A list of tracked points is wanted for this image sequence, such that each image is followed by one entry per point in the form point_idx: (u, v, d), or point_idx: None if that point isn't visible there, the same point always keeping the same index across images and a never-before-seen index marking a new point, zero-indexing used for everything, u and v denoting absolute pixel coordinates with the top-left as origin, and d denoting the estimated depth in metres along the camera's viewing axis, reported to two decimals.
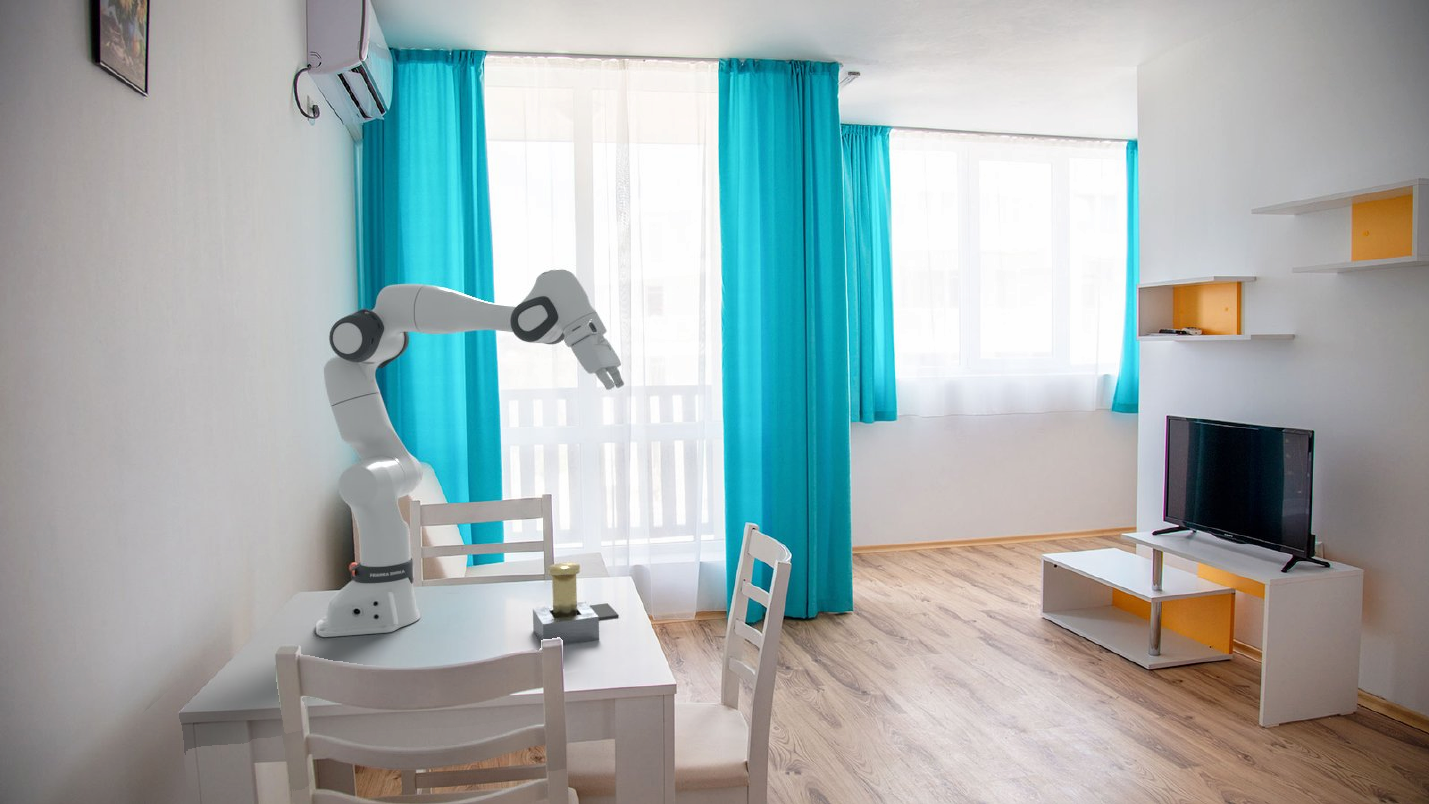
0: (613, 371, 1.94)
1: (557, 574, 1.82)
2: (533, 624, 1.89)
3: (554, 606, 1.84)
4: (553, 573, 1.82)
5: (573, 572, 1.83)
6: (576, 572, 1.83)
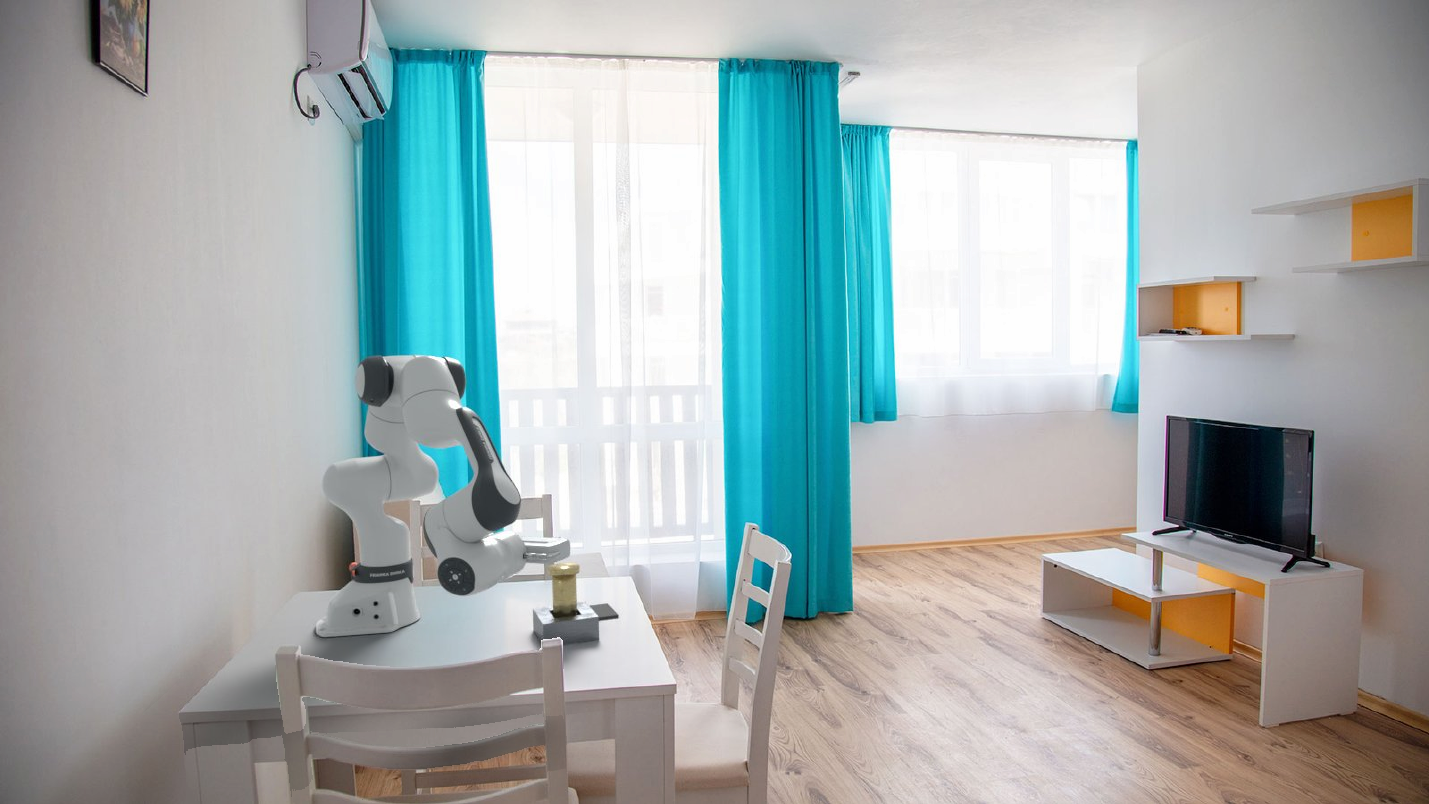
0: None
1: (557, 574, 1.82)
2: (533, 624, 1.89)
3: (554, 606, 1.84)
4: (553, 573, 1.82)
5: (573, 572, 1.83)
6: (576, 572, 1.83)
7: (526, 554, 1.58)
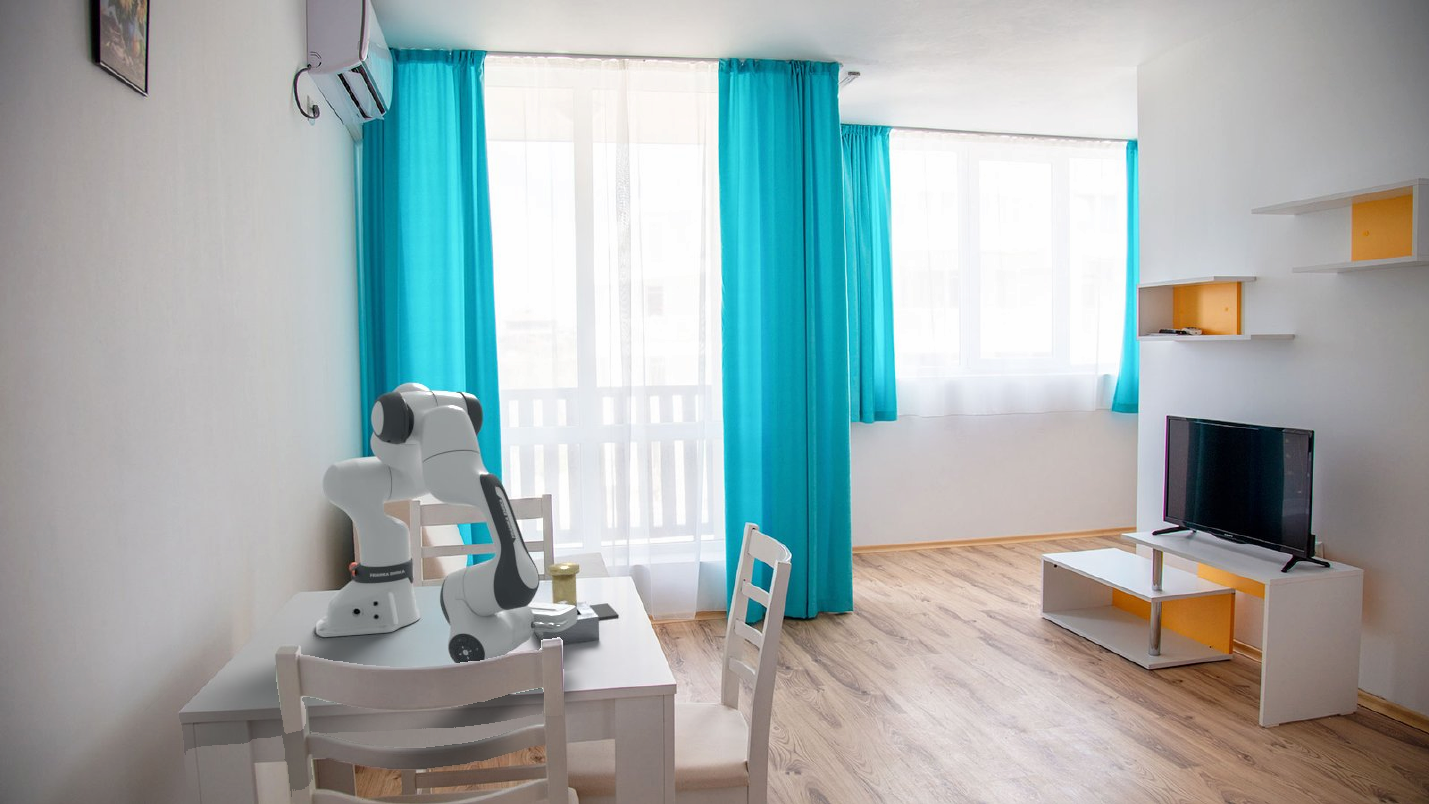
0: None
1: (557, 574, 1.82)
2: None
3: None
4: (553, 573, 1.82)
5: (573, 572, 1.82)
6: (576, 572, 1.83)
7: (534, 623, 1.62)
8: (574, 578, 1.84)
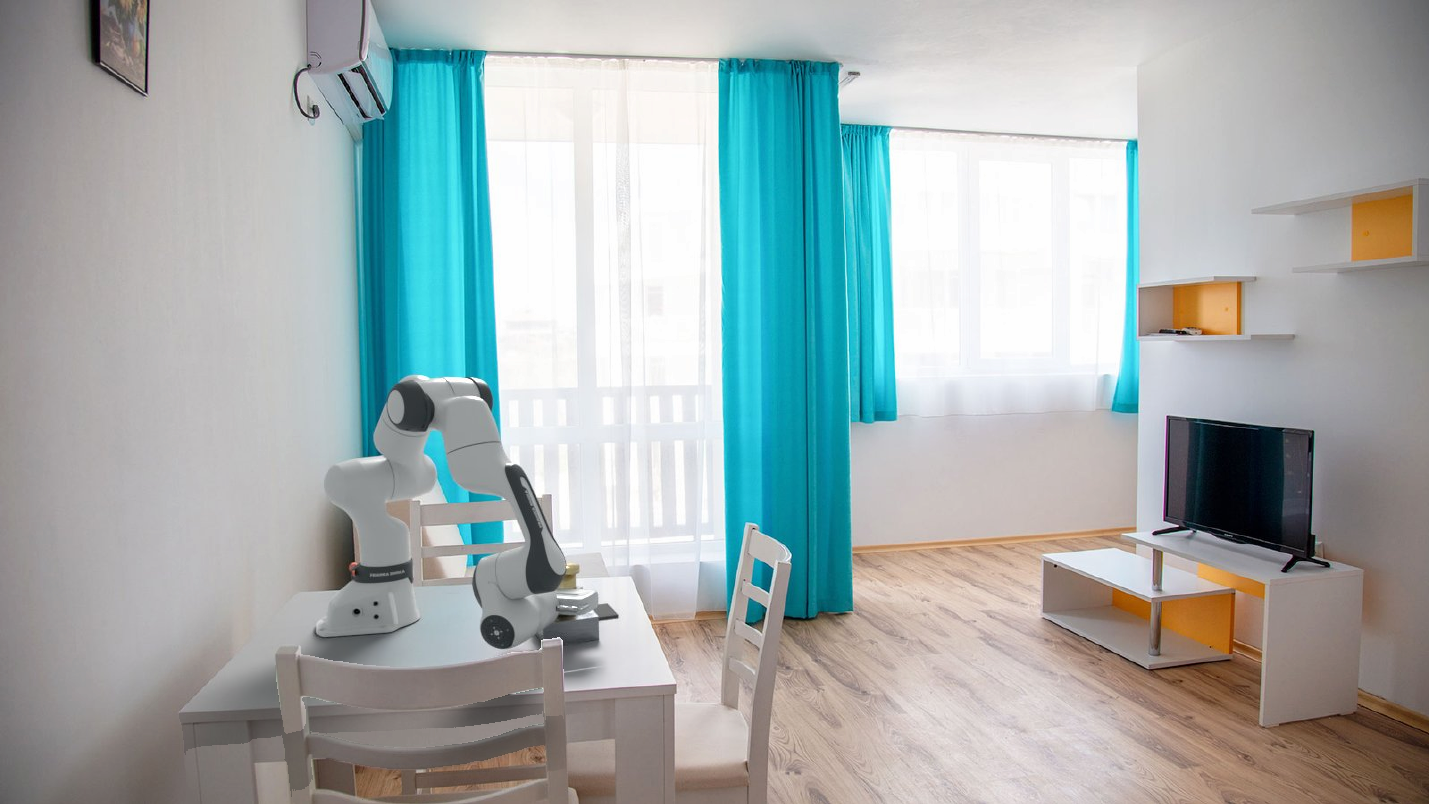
0: None
1: None
2: None
3: None
4: None
5: (573, 572, 1.82)
6: (576, 572, 1.83)
7: (559, 607, 1.72)
8: (574, 578, 1.84)
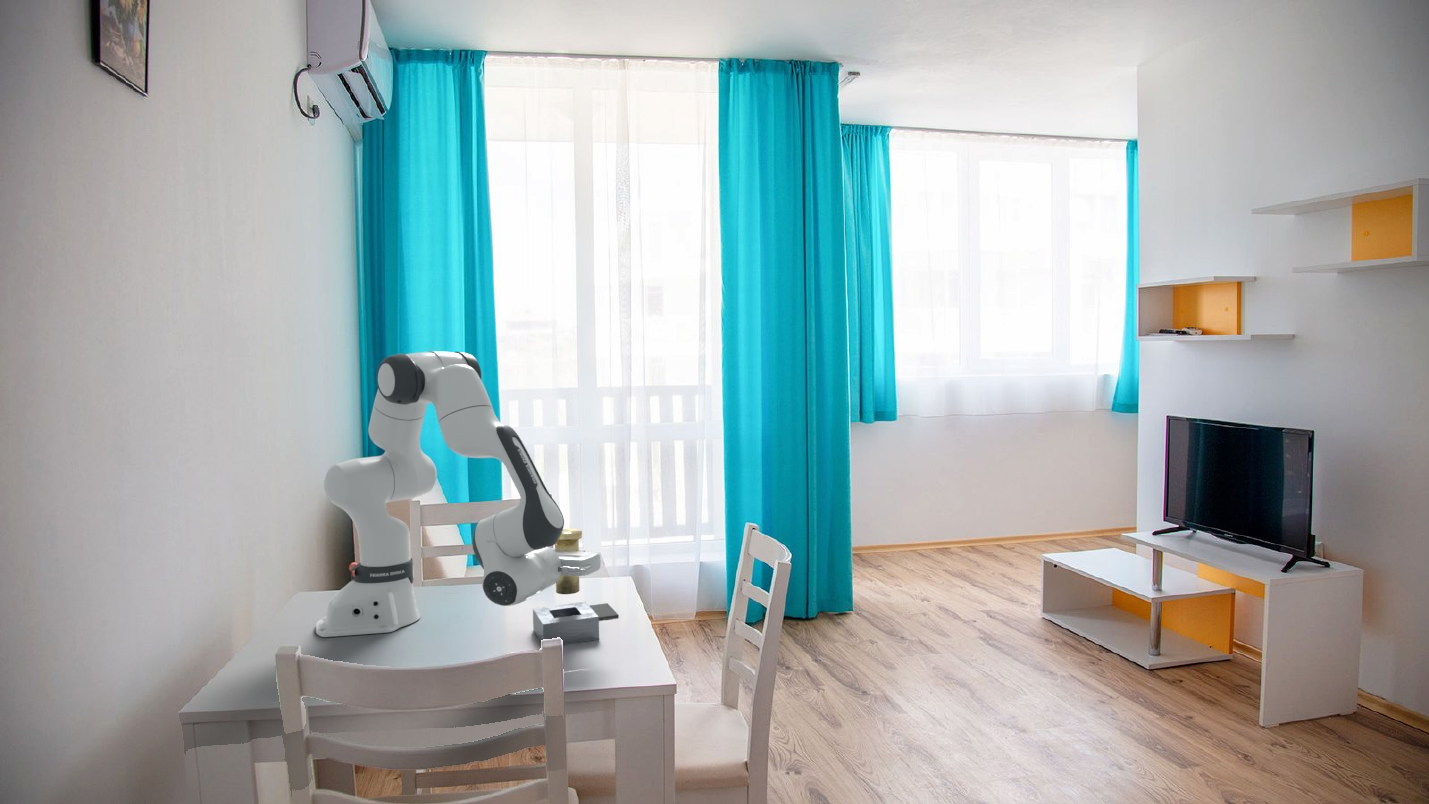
0: None
1: (559, 539, 1.83)
2: (533, 624, 1.89)
3: None
4: None
5: (575, 537, 1.84)
6: (578, 537, 1.85)
7: (561, 567, 1.73)
8: (577, 543, 1.86)
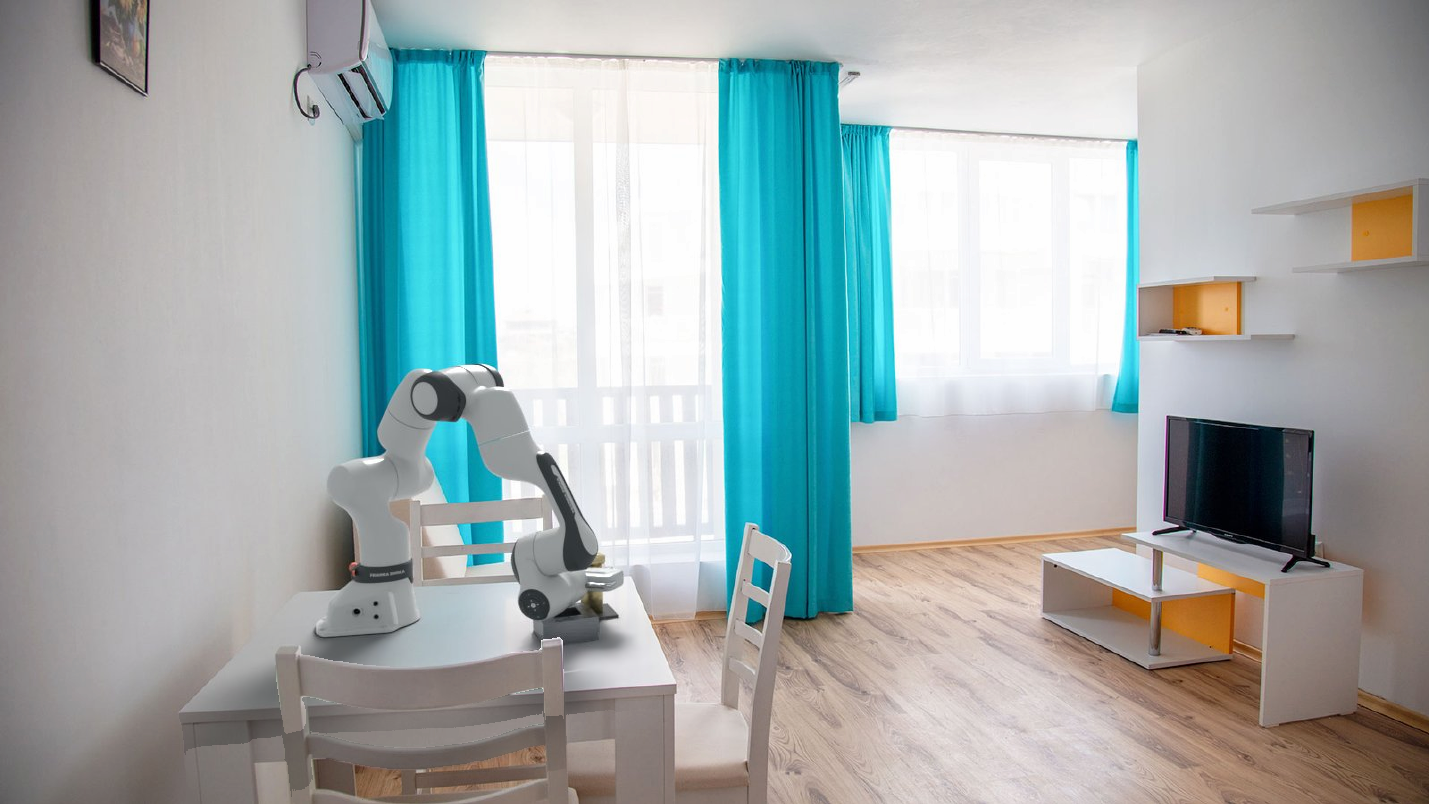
0: None
1: None
2: (533, 624, 1.89)
3: None
4: None
5: (599, 562, 1.97)
6: (602, 562, 1.97)
7: (588, 583, 1.86)
8: (600, 567, 1.98)
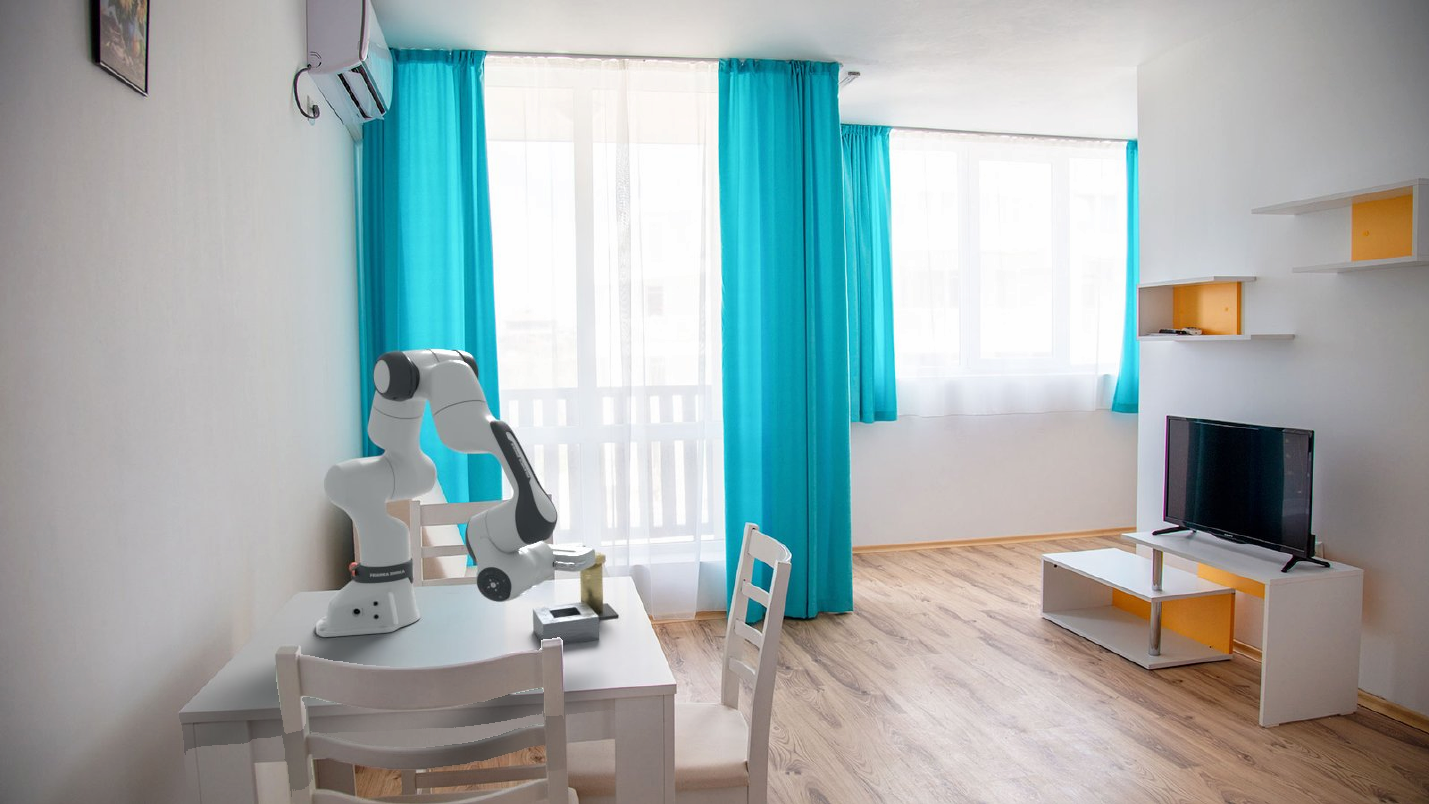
0: None
1: None
2: (533, 624, 1.89)
3: (582, 593, 1.98)
4: None
5: (600, 561, 1.97)
6: (602, 561, 1.98)
7: (555, 563, 1.71)
8: (601, 567, 1.99)
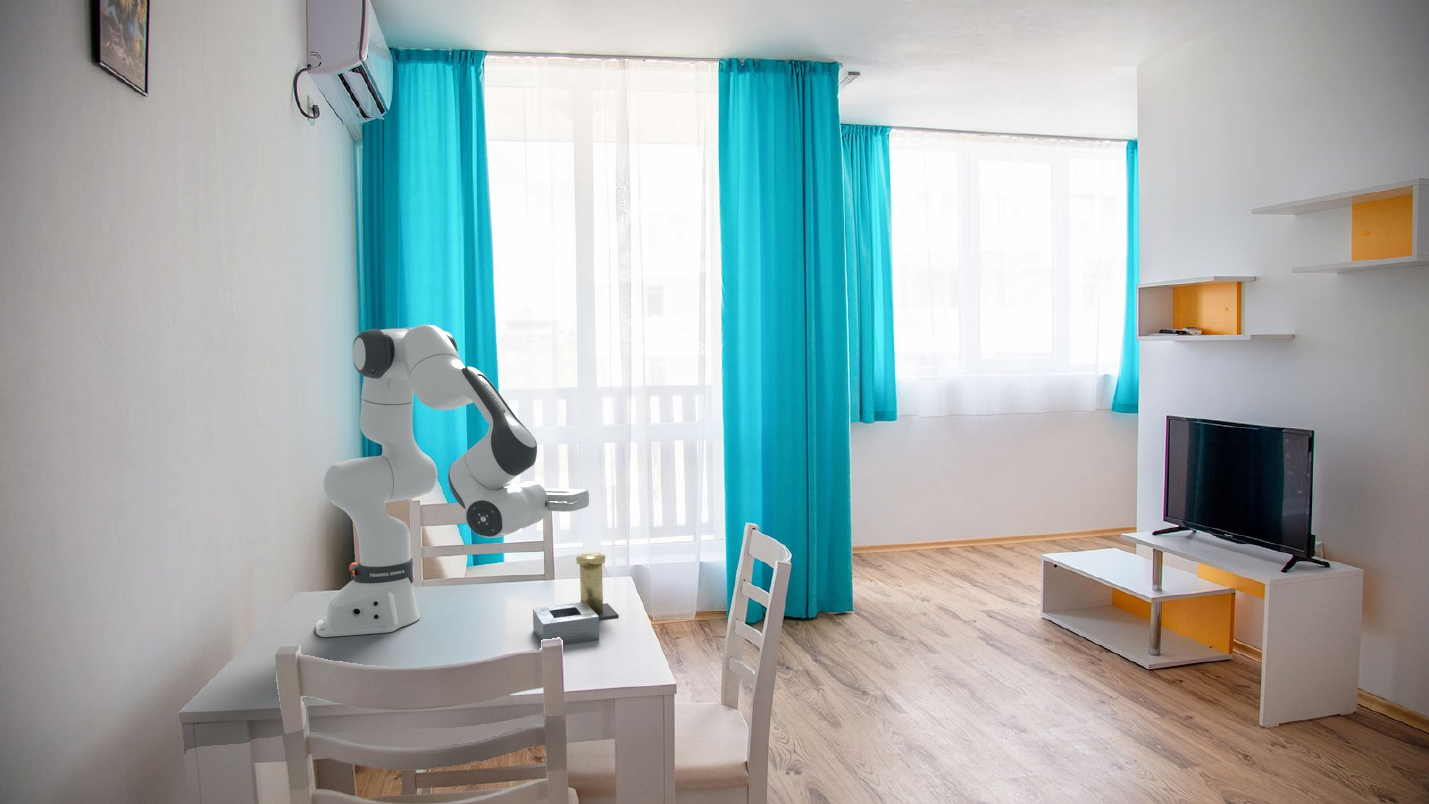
0: None
1: (585, 563, 1.96)
2: (533, 624, 1.89)
3: (582, 593, 1.98)
4: (581, 562, 1.97)
5: (599, 561, 1.97)
6: (602, 561, 1.98)
7: (548, 502, 1.68)
8: (600, 567, 1.99)
